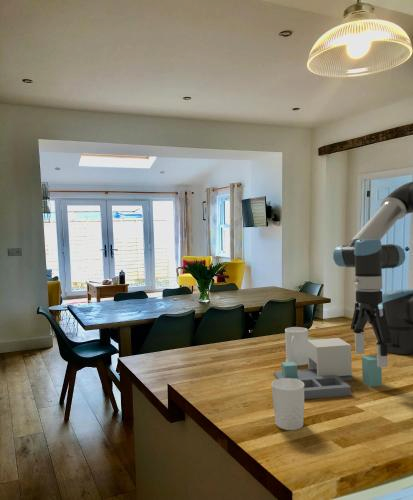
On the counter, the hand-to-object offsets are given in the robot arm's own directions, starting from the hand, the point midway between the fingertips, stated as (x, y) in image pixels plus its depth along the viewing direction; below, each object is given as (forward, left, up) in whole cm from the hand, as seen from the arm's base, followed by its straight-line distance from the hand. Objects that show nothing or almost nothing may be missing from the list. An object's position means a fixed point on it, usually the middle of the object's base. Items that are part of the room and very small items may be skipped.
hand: (370, 359), depth 119 cm
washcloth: (+5, -44, -8) cm, 45 cm away
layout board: (+15, -9, -7) cm, 19 cm away
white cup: (+32, +20, -8) cm, 38 cm away
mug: (+16, -24, -8) cm, 30 cm away
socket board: (+18, +2, -7) cm, 19 cm away
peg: (0, 0, -8) cm, 7 cm away
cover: (+9, -9, -6) cm, 14 cm away
